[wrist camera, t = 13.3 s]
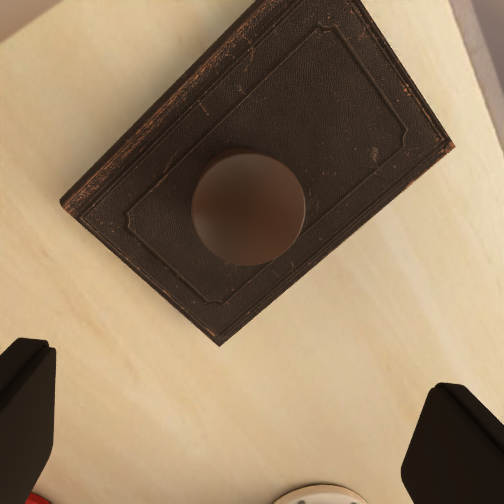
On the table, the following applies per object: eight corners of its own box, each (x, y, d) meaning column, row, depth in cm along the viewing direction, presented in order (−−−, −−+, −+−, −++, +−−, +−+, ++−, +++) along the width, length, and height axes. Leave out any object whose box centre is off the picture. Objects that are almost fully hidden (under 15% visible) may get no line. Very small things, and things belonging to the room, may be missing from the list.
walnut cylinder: (286, 154, 25) (317, 163, 17) (271, 232, 27) (293, 272, 19) (204, 139, 24) (199, 142, 17) (194, 221, 26) (184, 258, 18)
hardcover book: (437, 145, 28) (456, 146, 26) (219, 332, 31) (219, 347, 29) (308, -48, 23) (317, -67, 21) (67, 195, 27) (54, 201, 24)
